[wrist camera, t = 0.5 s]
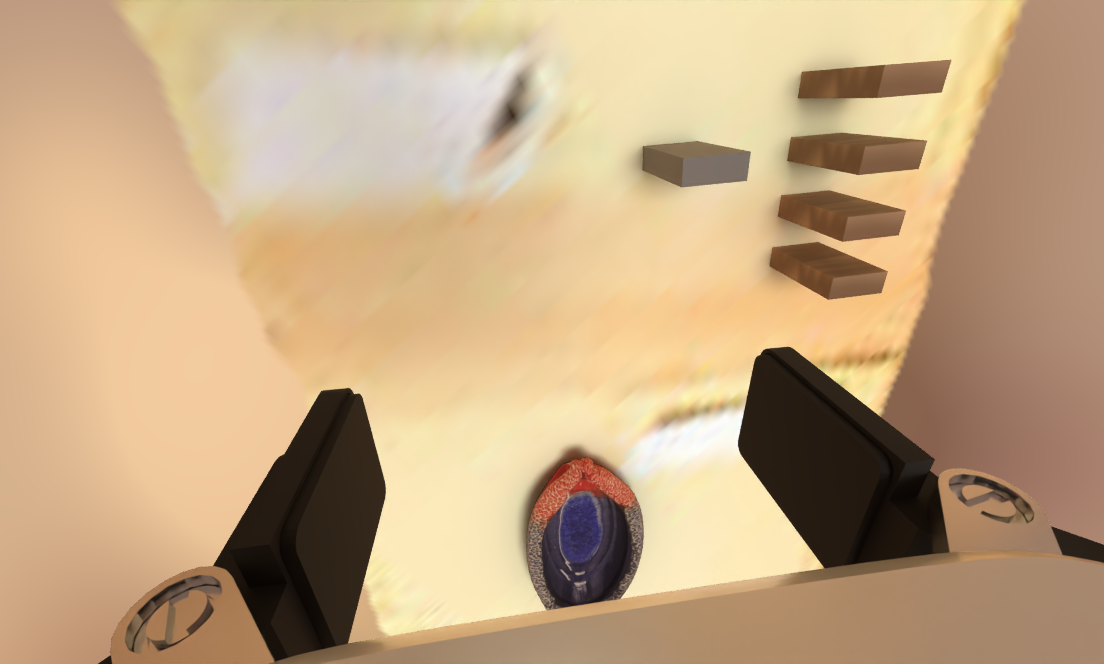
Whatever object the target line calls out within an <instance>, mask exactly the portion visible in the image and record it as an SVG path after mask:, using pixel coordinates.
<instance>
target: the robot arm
mask: <svg viewBox="0 0 1104 664" xmlns="http://www.w3.org/2000/svg"><path fill="white" fill-rule="evenodd" d="M738 447H739V451H740V454H741V455H742V457H743V458H744V460H745V461H746V462H747V464H748V465H749V466H750V468H751V469H752V471H753V472H754V473H755V475H756V476H757V477H758V479H759V480H760V481H761V483H762V484H763V485H764V487H765V488H766V489H767V491H768V492H769V494H770V495H771V496H772V498H773V499H774V500H775V502H776V503H777V504H778V506H779V507H780V508H781V510H782V511H783V513H784V514H785V515H786V517H787V518H788V519H789V521H790V522H791V523H792V525H793V526H794V527H795V529H796V530H797V531H798V533H799V534H800V536H801V537H802V538H803V540H804V541H805V542H806V544H807V545H808V546H809V548H810V549H811V550H812V552H813V553H814V555H815V556H816V557H817V559H818V560H819V561H820V563H821V564H822V565H823V567H824V568H825V569H818V570H811V571H804V572H798V573H791V574H784V575H777V576H770V577H763V578H756V579H750V580H743V581H736V582H729V583H723V584H716V585H710V586H703V587H696V588H690V589H683V590H676V591H670V592H663V593H657V594H650V595H644V596H637V597H631V598H624V599H618V600H611V601H604V602H598V603H591V604H585V605H578V606H572V607H566V608H559V609H553V610H547V611H540V612H534V613H528V614H521V615H515V616H509V617H502V618H496V619H490V620H483V621H477V622H471V623H464V624H458V625H452V626H445V627H440V628H434V629H428V630H423V631H417V632H411V633H406V634H400V635H394V636H388V637H383V638H377V639H371V640H366V641H360V642H354V643H349V644H348V641H349V637H350V633H351V629H352V625H353V621H354V617H355V614H356V610H357V606H358V602H359V598H360V594H361V590H362V586H363V582H364V579H365V575H366V571H367V567H368V563H369V559H370V555H371V551H372V547H373V543H374V539H375V536H376V532H377V528H378V524H379V520H380V516H381V512H382V508H383V504H384V500H385V494H386V487H385V481H384V477H383V473H382V469H381V465H380V462H379V458H378V454H377V450H376V447H375V443H374V439H373V435H372V432H371V428H370V424H369V420H368V417H367V413H366V409H365V405H364V402H363V398H362V396H361V394H354V393H353V391H352V390H351V389H350V388H345V389H335V390H324V391H321V393H320V394H319V395H318V397H317V399H316V401H315V402H314V404H313V406H312V407H311V409H310V411H309V413H308V414H307V416H306V418H305V419H304V422H303V423H302V425H301V426H300V428H299V430H298V432H297V433H296V435H295V437H294V438H293V440H292V442H291V444H290V445H289V447H288V449H287V451H286V452H285V454H284V455H282V456H280V457H279V458H278V459H277V460H276V461H275V462H274V464H273V466H272V467H271V469H270V471H269V472H268V474H267V476H266V478H265V479H264V481H263V483H262V484H261V486H260V488H259V489H258V491H257V493H256V494H255V496H254V498H253V500H252V501H251V503H250V504H249V506H248V508H247V510H246V511H245V513H244V515H243V516H242V518H241V520H240V521H239V523H238V525H237V526H236V528H235V530H234V531H233V533H232V535H231V536H230V538H229V540H228V541H227V543H226V545H225V547H224V548H223V550H222V552H221V553H220V555H219V557H218V558H217V560H216V562H215V563H214V565H213V566H208V567H198V568H195V569H192V570H188V571H185V572H182V573H180V574H178V575H176V576H174V577H172V578H169V579H168V580H165V581H164V582H162V583H161V584H159V585H158V586H157V587H155V588H153V589H152V590H151V591H149V592H148V593H146V594H145V595H144V596H143V597H142V598H141V599H140V600H139V601H138V602H136V603H135V604H134V605H133V606H132V607H131V608H130V610H129V611H128V612H127V614H126V615H125V616H124V617H123V618H122V620H121V621H120V622H119V624H118V626H117V628H116V630H115V632H114V634H113V636H112V639H111V649H110V654H111V655H110V656H109V657H107V658H106V659H104V660H103V661H101V662H100V663H99V664H1104V545H1102V544H1100V543H1097V542H1094V541H1091V540H1088V539H1086V538H1083V537H1079V536H1077V535H1074V534H1071V533H1069V532H1066V531H1063V530H1060V529H1057V528H1054V527H1051V526H1050V523H1049V521H1048V518H1047V516H1046V514H1045V513H1044V511H1043V510H1042V508H1041V507H1040V505H1039V504H1038V503H1037V502H1036V501H1034V500H1033V499H1032V498H1031V497H1030V496H1029V495H1028V494H1026V493H1025V492H1023V491H1021V490H1020V489H1019V488H1017V487H1015V486H1014V485H1012V484H1010V483H1008V482H1006V481H1004V480H1002V479H1000V478H997V477H995V476H991V475H989V474H986V473H983V472H979V471H975V470H970V469H958V468H955V469H949V470H945V471H943V472H942V473H941V474H940V475H939V477H937V476H936V475H935V474H933V473H932V472H931V471H930V469H931V466H932V464H933V462H934V458H932V457H931V456H929V455H928V454H927V453H926V452H925V451H923V450H922V449H921V448H919V447H918V446H917V445H916V444H914V443H913V442H912V441H910V440H909V439H908V438H906V437H905V436H904V435H903V434H902V433H900V432H899V431H898V430H896V429H895V428H894V427H893V426H891V425H890V424H889V423H888V422H886V421H885V420H884V419H882V418H881V417H880V416H879V415H877V414H876V413H875V412H873V411H872V410H871V409H870V408H868V407H867V406H866V405H864V404H863V403H862V402H861V401H859V400H858V399H857V398H856V397H854V396H853V395H852V394H850V393H849V392H848V391H847V390H845V389H844V388H843V387H841V386H840V385H839V384H838V383H836V382H835V381H834V380H832V379H831V378H830V377H829V376H827V375H826V374H825V373H823V372H822V371H821V370H820V369H818V368H817V367H816V366H815V365H813V364H812V363H811V362H809V361H808V360H807V359H806V358H804V357H803V356H802V355H800V354H799V353H798V352H797V351H795V350H794V349H792V348H791V347H781V348H770V349H765V350H763V352H762V353H761V355H759V356H757V357H756V359H755V362H754V366H753V371H752V376H751V381H750V386H749V391H748V396H747V400H746V405H745V410H744V415H743V420H742V425H741V429H740V434H739V439H738Z"/></svg>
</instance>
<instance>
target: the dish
mask: <svg viewBox="0 0 1104 664" xmlns="http://www.w3.org/2000/svg"><path fill="white" fill-rule="evenodd" d="M643 538H644V532H643V518H642V513H641V509H640V505H639V503H638V501H637V499H636V497H635V494H634V493H633V491H632V490H631V489H630V487H629V486H628V485H627V484H626V483H624V482H623V481H622V480H620V479H619V478H617V477H616V476H614V475H613V474H612V473H611V472H610V471H608V470H607V469H605V468H604V467H602V466H600V465H596V464H593V461H592V460H591V459H590V458H582V459H581V460H579V459H575V460H572V461H571V462H569V463H566V464H563V465H562V466H561V467H560V468H559V469H558V470H557V471H556V473H555V474H554V476H553V477H552V479H551V480H550V481H549V483H548V484H547V485H546V487H545V488H544V489H543V491H542V492H541V494H540V495H539V497H538V499H537V501H536V503H535V505H534V508H533V511H532V513H531V516H530V520H529V524H528V531H527V546H526V547H527V562H528V568H529V573H530V576H531V580H532V583H533V585H534V588H535V590H536V592H537V594H538V596H539V597H540V599H541V601H542V603H543V605H544V606H545V608H546V610H553V609H559V608H566V607H572V606H578V605H585V604H591V603H598V602H604V601H611V600H618V599H620V598H621V597H622V596H623V595H624V593H625V592H626V590H627V589H628V587H629V585H630V584H631V582H632V580H633V578H634V576H635V573H636V571H637V568H638V565H639V561H640V558H641V553H642V548H643Z"/></svg>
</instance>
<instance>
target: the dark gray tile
mask: <svg viewBox="0 0 1104 664" xmlns="http://www.w3.org/2000/svg"><path fill="white" fill-rule="evenodd" d="M750 153H751V152H749V151H744V150H739V149H734V148H729V147H724V146H719V145H713V144H708V143H703V142H698V141H696V142H685V143H674V144H663V145H652V146H643V170H644V171H646V172H648V173H650V174H653V175H655V176H657V177H659V178H662V179H664V180H666V181H669V182H671V183H673V184H675V185H678V186H680V187H689V186H699V185H709V184H719V183H729V182H739V181H747V176H748V168H749V160H750Z"/></svg>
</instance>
